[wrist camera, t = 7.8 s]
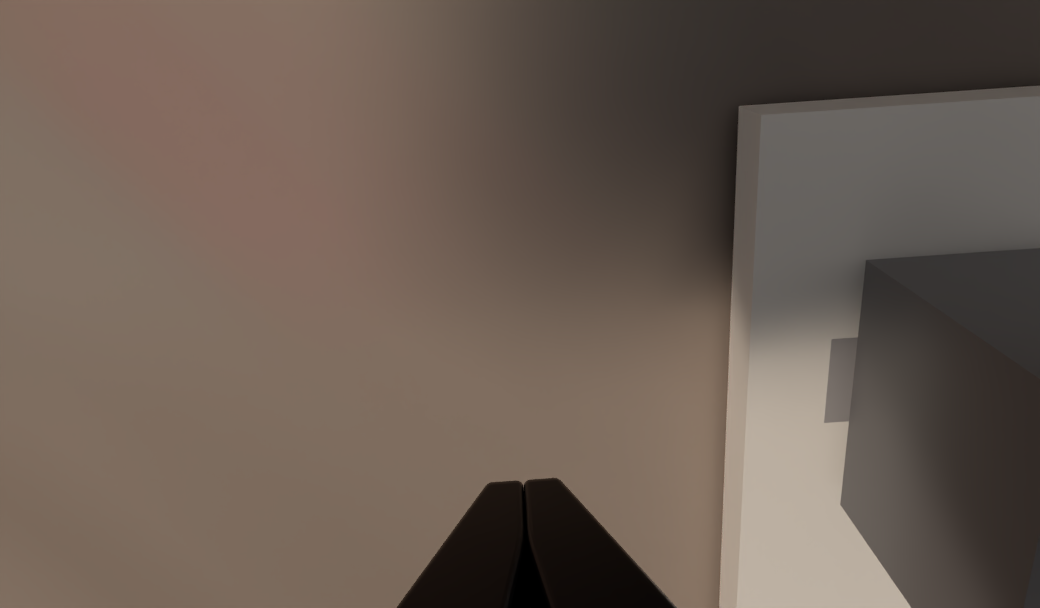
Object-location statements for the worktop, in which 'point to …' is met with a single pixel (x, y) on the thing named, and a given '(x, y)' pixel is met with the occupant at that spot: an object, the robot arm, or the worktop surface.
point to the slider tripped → (949, 427)
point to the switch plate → (842, 305)
